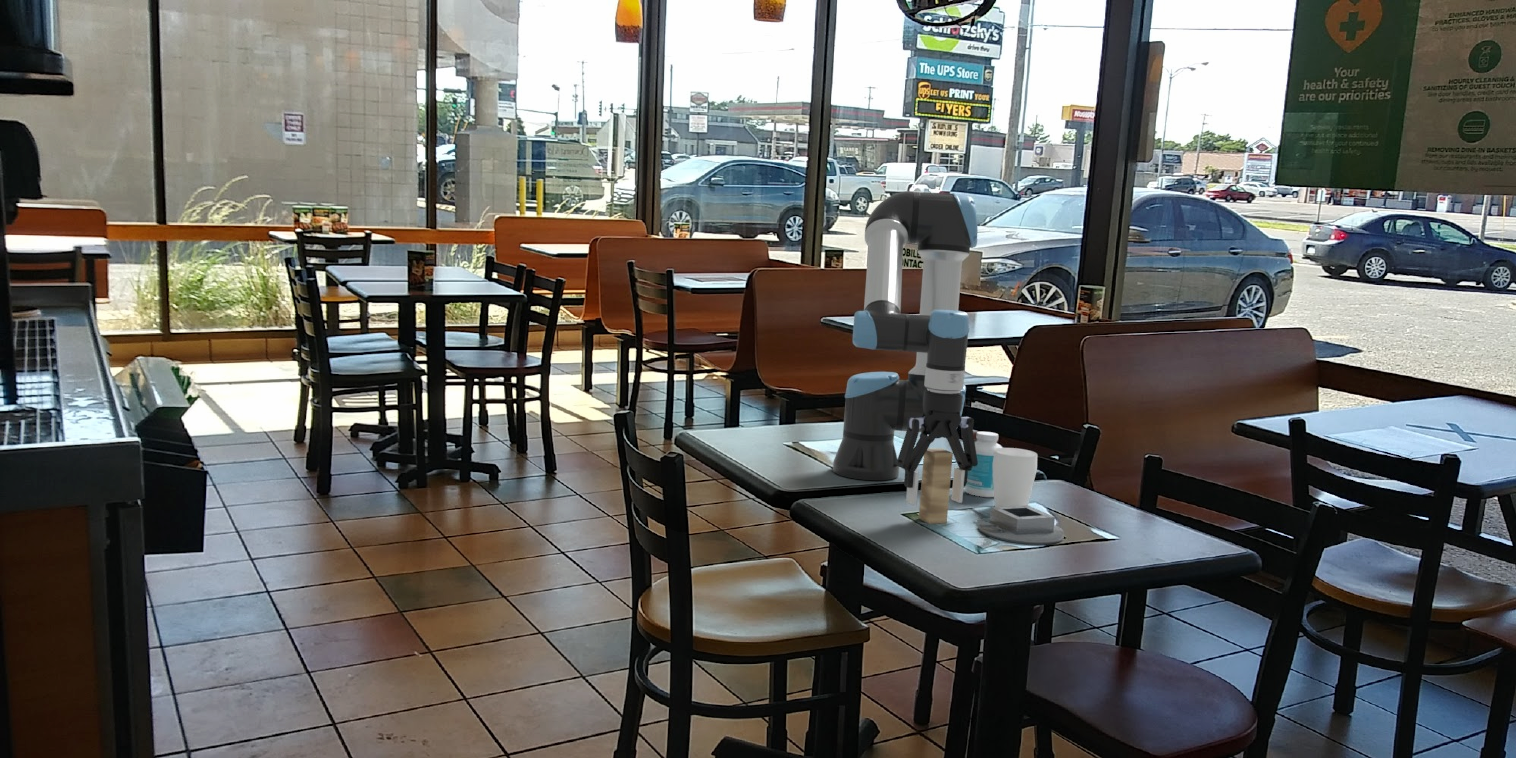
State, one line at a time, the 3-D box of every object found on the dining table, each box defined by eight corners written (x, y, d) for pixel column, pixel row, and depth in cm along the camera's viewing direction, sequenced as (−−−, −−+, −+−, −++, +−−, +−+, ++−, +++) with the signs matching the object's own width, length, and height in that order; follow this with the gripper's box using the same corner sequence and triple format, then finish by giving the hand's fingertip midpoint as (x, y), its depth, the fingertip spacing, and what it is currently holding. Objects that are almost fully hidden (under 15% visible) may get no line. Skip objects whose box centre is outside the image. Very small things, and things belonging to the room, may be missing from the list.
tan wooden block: (918, 518, 225) (924, 449, 223) (935, 517, 227) (941, 448, 225) (929, 523, 222) (935, 453, 220) (946, 522, 223) (952, 452, 221)
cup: (1033, 516, 232) (1039, 458, 231) (988, 511, 234) (993, 454, 232) (1032, 505, 241) (1037, 450, 239) (988, 501, 243) (993, 446, 241)
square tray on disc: (962, 523, 224) (964, 503, 223) (1029, 519, 230) (1031, 499, 229) (1010, 547, 209) (1012, 525, 208) (1081, 541, 215) (1083, 521, 215)
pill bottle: (997, 500, 244) (1002, 438, 242) (962, 495, 246) (967, 434, 244) (1001, 492, 251) (1006, 432, 249) (967, 488, 253) (972, 428, 251)
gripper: (903, 393, 213) (893, 510, 216) (1003, 393, 221) (992, 504, 225) (883, 387, 220) (874, 500, 223) (981, 386, 228) (971, 495, 232)
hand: (934, 502), depth 224 cm, fingers open, 10 cm apart
